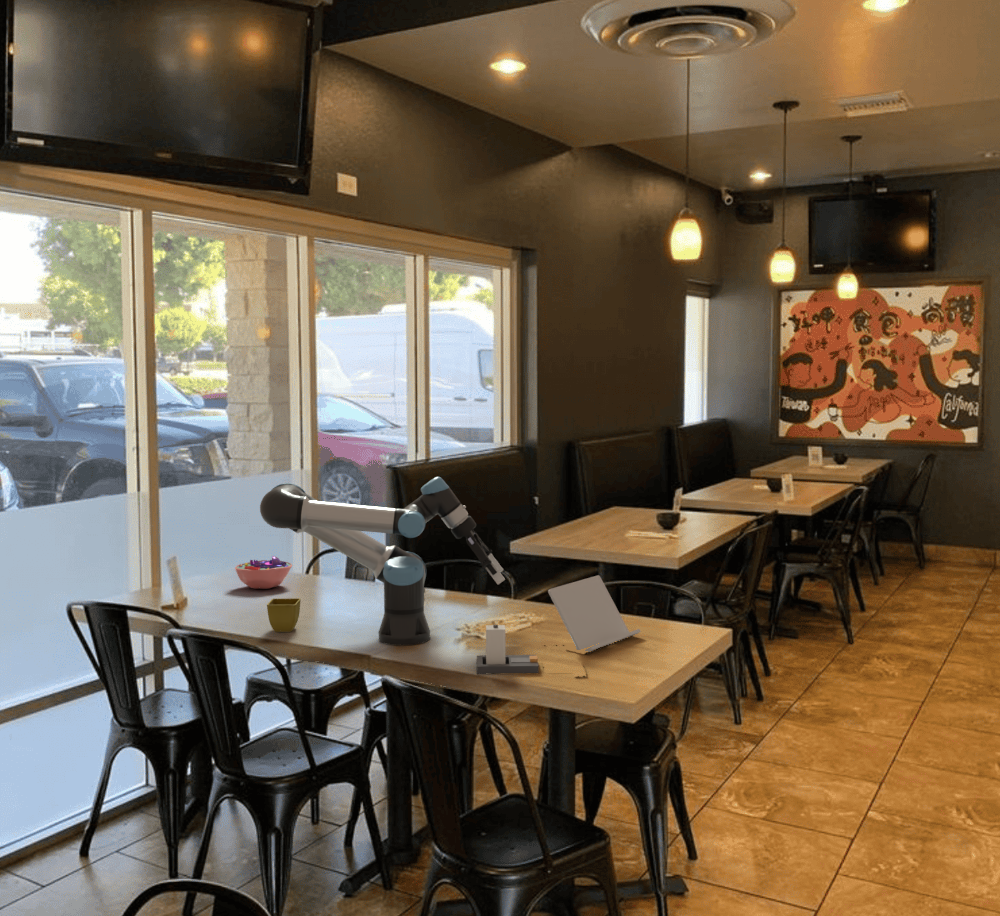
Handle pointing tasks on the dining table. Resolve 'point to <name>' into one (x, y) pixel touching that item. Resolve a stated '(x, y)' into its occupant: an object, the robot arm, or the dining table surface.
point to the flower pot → (283, 614)
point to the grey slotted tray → (509, 664)
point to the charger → (495, 644)
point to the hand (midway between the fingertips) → (500, 577)
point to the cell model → (263, 573)
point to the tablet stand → (589, 613)
